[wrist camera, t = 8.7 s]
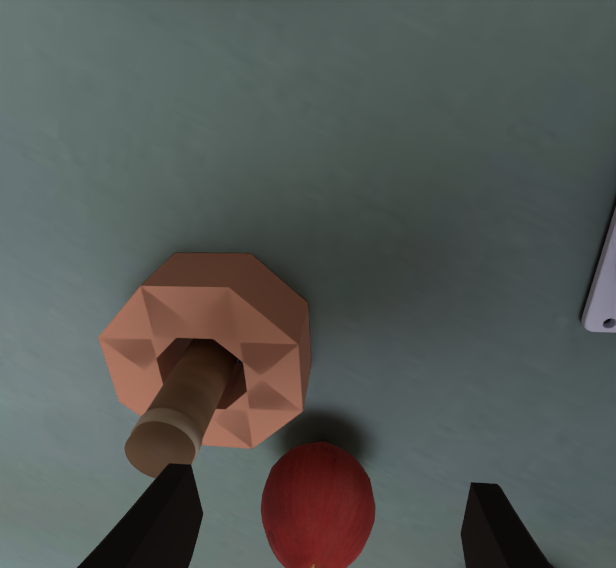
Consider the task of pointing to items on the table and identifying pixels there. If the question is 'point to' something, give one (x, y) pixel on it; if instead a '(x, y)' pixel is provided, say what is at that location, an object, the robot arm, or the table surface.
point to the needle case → (181, 409)
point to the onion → (317, 507)
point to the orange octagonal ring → (223, 329)
